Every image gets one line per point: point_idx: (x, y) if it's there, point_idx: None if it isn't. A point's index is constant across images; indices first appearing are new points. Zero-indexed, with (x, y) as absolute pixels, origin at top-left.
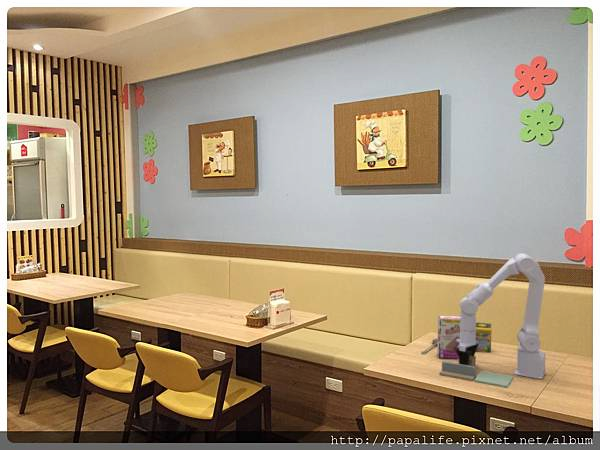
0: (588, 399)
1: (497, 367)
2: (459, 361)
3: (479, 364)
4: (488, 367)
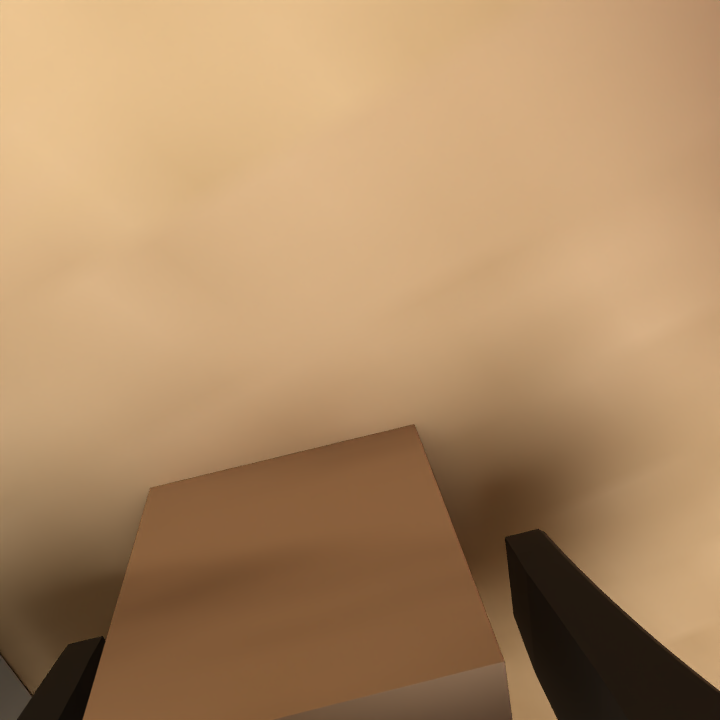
0: None
1: None
2: (112, 671)
3: (709, 540)
4: None
